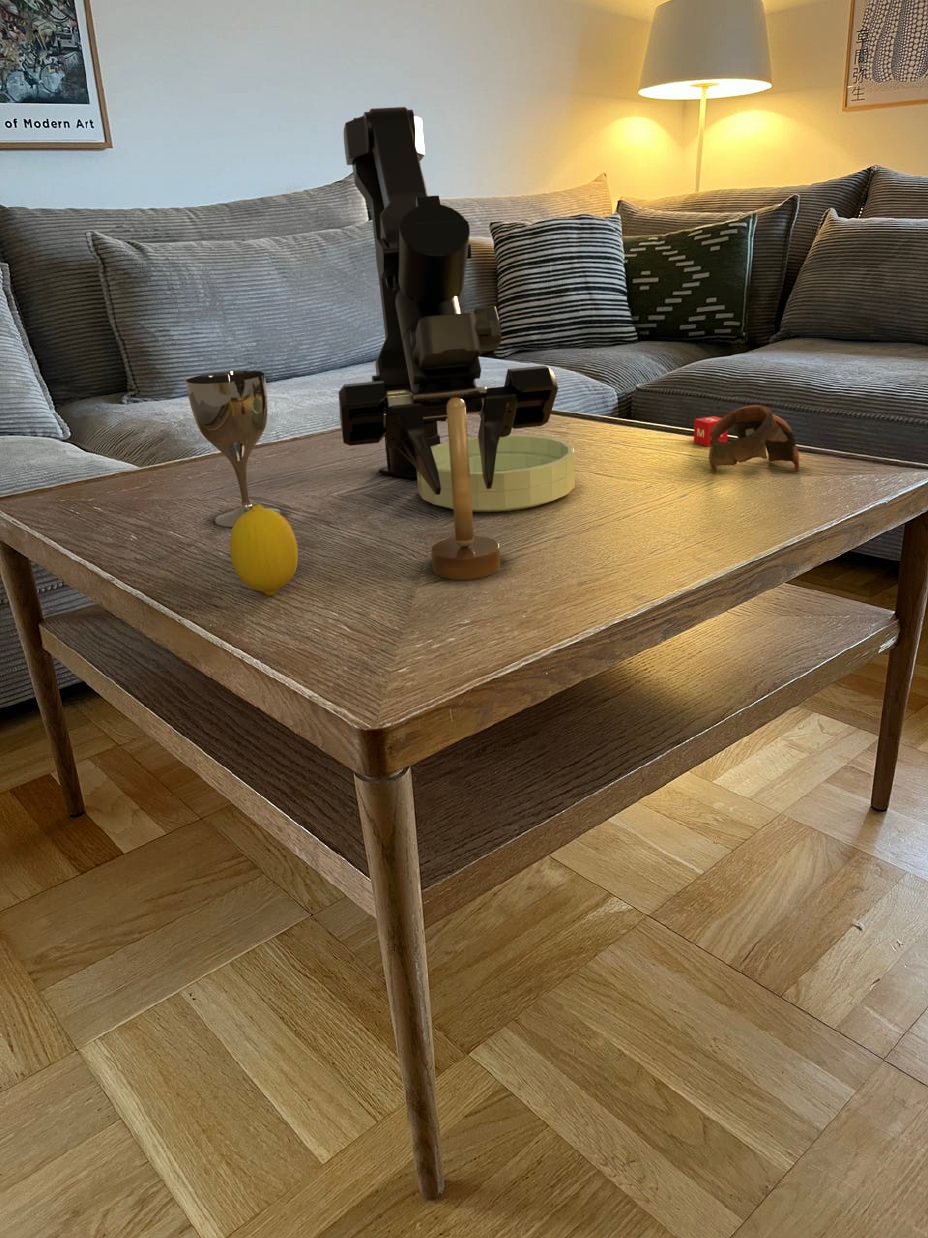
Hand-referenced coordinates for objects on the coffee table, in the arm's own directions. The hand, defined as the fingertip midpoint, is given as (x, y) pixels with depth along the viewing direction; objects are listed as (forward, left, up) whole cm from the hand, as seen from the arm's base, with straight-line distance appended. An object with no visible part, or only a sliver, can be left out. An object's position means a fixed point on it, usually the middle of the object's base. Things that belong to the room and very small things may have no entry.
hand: (464, 489), depth 77 cm
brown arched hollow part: (+6, +43, -8) cm, 44 cm away
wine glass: (-32, 0, -8) cm, 33 cm away
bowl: (-14, +21, -8) cm, 26 cm away
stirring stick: (-1, +1, -8) cm, 8 cm away
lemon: (-11, -13, -8) cm, 19 cm away
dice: (-4, +52, -8) cm, 53 cm away
